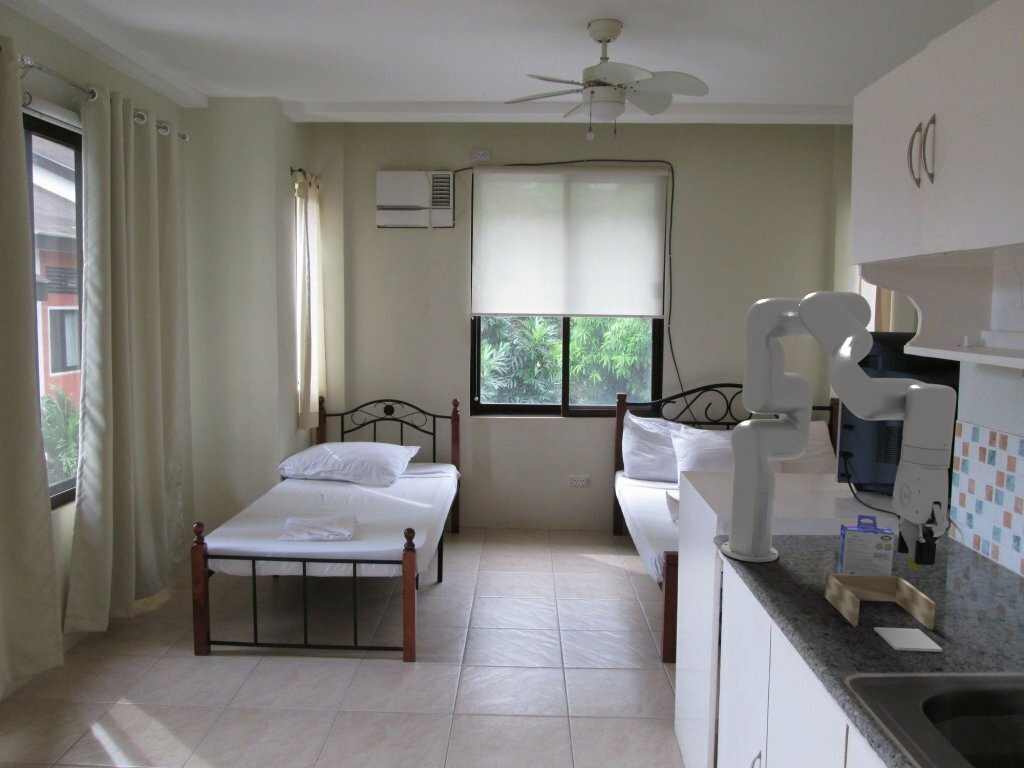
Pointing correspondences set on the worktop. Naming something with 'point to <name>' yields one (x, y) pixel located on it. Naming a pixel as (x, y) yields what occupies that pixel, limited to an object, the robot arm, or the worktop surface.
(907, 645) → the grey pad
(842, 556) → the ink cartridge box
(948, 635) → the worktop surface
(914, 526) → the light bulb
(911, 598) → the u-shaped wooden frame
